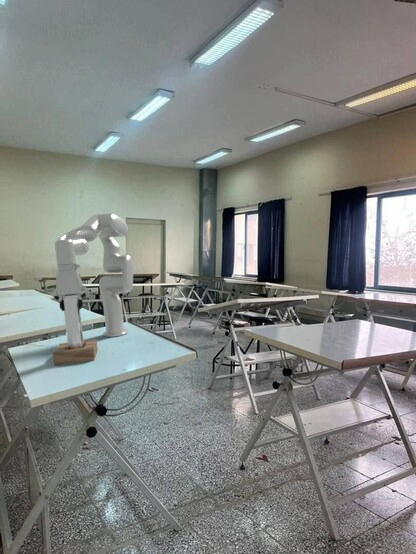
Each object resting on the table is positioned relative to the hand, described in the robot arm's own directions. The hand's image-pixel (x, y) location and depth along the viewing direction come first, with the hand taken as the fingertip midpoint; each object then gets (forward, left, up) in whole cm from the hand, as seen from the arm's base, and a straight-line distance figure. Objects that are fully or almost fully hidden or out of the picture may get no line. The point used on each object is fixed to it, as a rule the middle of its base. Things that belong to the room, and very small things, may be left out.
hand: (71, 309), depth 162 cm
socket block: (0, 0, -21) cm, 21 cm away
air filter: (0, 0, -19) cm, 19 cm away
